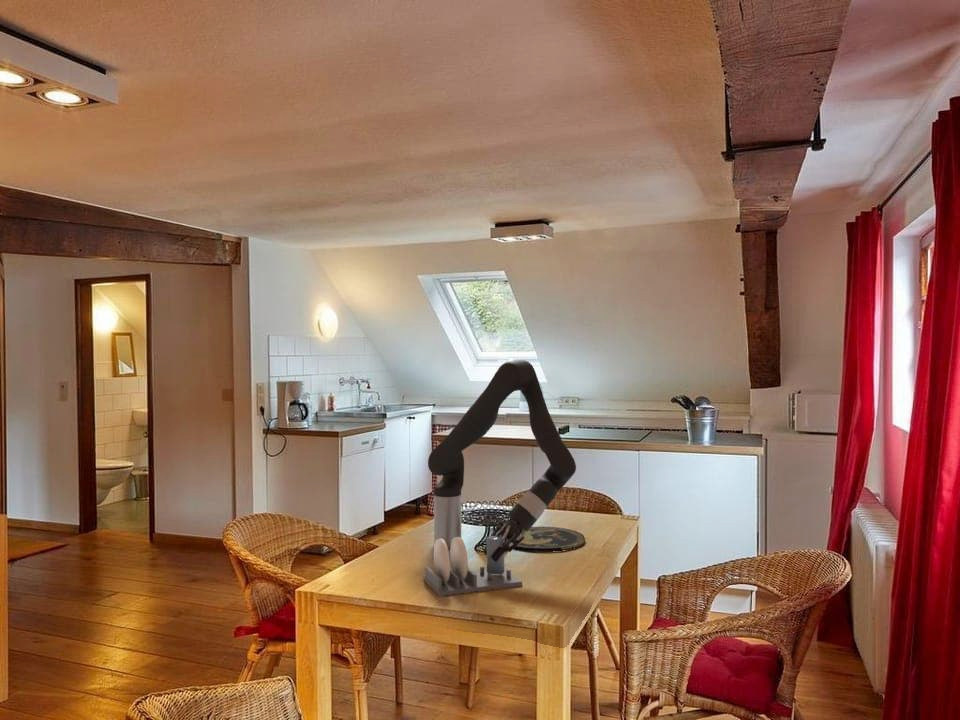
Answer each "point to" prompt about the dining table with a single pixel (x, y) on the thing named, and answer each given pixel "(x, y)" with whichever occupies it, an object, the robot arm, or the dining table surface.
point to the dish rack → (462, 572)
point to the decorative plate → (550, 539)
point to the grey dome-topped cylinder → (492, 545)
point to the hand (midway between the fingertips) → (489, 556)
